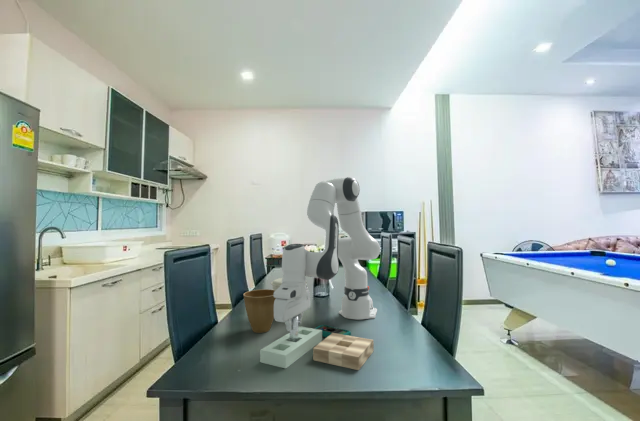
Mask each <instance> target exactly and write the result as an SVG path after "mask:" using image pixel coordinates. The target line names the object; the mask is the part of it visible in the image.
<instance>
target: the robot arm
mask: <svg viewBox="0 0 640 421" xmlns="http://www.w3.org/2000/svg"><path fill="white" fill-rule="evenodd" d="M360 190H361V189H360V185H359V182H358V181H357V179H355V177H349V176H348V177H340V178H339V177H338V178H333V179H328V180H325V181H324V180H323V181H319V182H318V183H317V184H315V186H314V188H313V191H312V193H311V195H310V198H309V201H308V204H307V209H306V216H307V218H308V220H309V221H310V222H311V223H312V224H314V226H317V227H319V228H321V229H323V230H325V242H324V243H325V245H324V250H323V251H321V252H319V251H317V252H316V251H310V250H307V249H306V248H305V245H304V244H303V243H292V244H288V245H286V246H284V248H283V251H282V255H281V256H282V257H281V258H282V259H281V271H282V277H281V278H282V284H281V285H280V287H279V288H278V289H277V290H275V291H274V298H276V299H275V301H274V319H273V320H274V321H276V322H278V323H284V324H285V327H286V328H285V330H286V331H288V332H290V331H291V330H292V329H293V328H292V327H293V325H291V322H290V321H291V318H293V317H295V316H298V327H300V325H302V319H303V316H304V313H305V312H306V311H308V310H309V309H311V305H312V301H311V298H312V297H311V292H310V290H309V287H308V285H307V283H306V282H307V279H306V277H308V278H315V279H321V280H326V281H329V280H331V279H333V278H335V276H336V275H337V274H338V273H339V268H340V266H339V265H340V263H341V264H342V267H343V271H344V284H345V285H344V289H343V290H344V292H343V293H344V295H343V296H342V298H341V310H339V311H338V314H340V315H341V316H342V317H344V318H345V319H349V320H358V321H359V320H367V319H368V320H369V319H376V316H377V313H378V308H376V307H374V302H373V299H372V297H371V296H370V292H369V290H370V286H369V285H368V272H367V270H366V269H365V268H364V267H363V266H361V264H360V262H359V260H362V261H369V260H375V259H377V258H378V257H379V255H380V253H381V246H380V243H379V241H378V240H377V239H376V238H374V237H373V236H372V235H370V233H369V232H368V230H367V229H366V227H365V224H364V221H363V218H362V212H361V208H360V203H359V200H358V197H359V194H360ZM335 204H336V205H335ZM335 206H336V210H337V215H338V217H337V216H336V215H335V212H334V211H335ZM339 226H340V228H341V230H342V231H343V232H344V233H346V234H347V235H348V237H347V236H344V237H339V235H340V231H339V229H340V228H339ZM339 260H340V263H339Z"/></svg>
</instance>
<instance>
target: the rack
mask: <svg viewBox="0 0 640 421" xmlns="http://www.w3.org/2000/svg"><path fill="white" fill-rule="evenodd" d="M322 341H323V336H322V330H318V329H315V328H311V327H305V326H300V325H299V326H298V341H297V342H291V341H290V332H288V333H287V334H285V335H283V336H282V337H280V338H278V339H276V340H275V341H273V342H271V343H269V344H268V345H266V346H264V347H263V348H261V349H260V350H259V358H260V359H259V363H263V364H265V365H270V366H274V367H277V368H282V369H287V368H289V367H290V366H291V365H292V364H294V363H295V362H296V361H297V360H299V359H300V358H302V357H303V356H304V355H305V354H307V353H308V352H310V351H311V350H313V348H314V347H315V346H316V345H318V344H319V343H320V342H322Z"/></svg>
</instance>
